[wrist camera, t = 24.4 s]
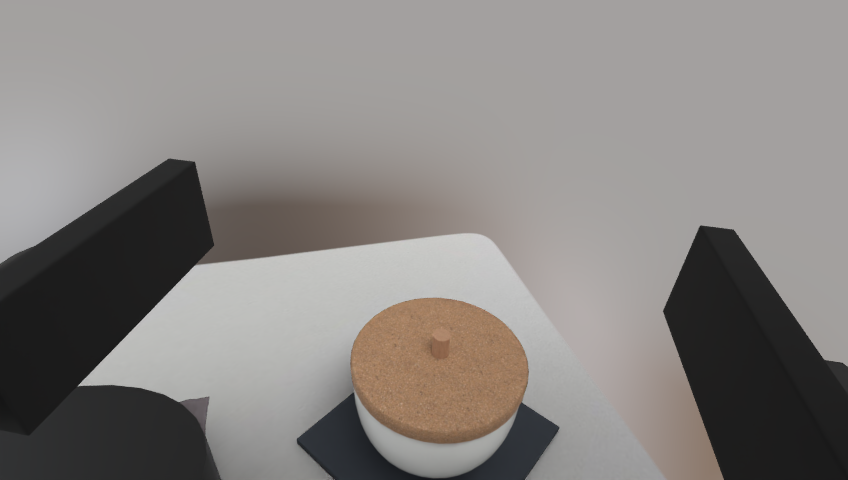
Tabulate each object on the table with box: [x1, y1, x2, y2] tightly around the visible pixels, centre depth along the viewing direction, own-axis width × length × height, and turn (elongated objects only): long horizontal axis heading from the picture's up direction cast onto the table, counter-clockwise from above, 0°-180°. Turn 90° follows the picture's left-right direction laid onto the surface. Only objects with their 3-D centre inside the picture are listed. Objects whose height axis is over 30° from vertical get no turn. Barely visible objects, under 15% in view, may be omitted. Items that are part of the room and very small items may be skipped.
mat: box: [297, 393, 559, 480], centre depth 33 cm, size 13×13×1 cm
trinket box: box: [350, 298, 529, 478], centre depth 31 cm, size 11×11×9 cm
